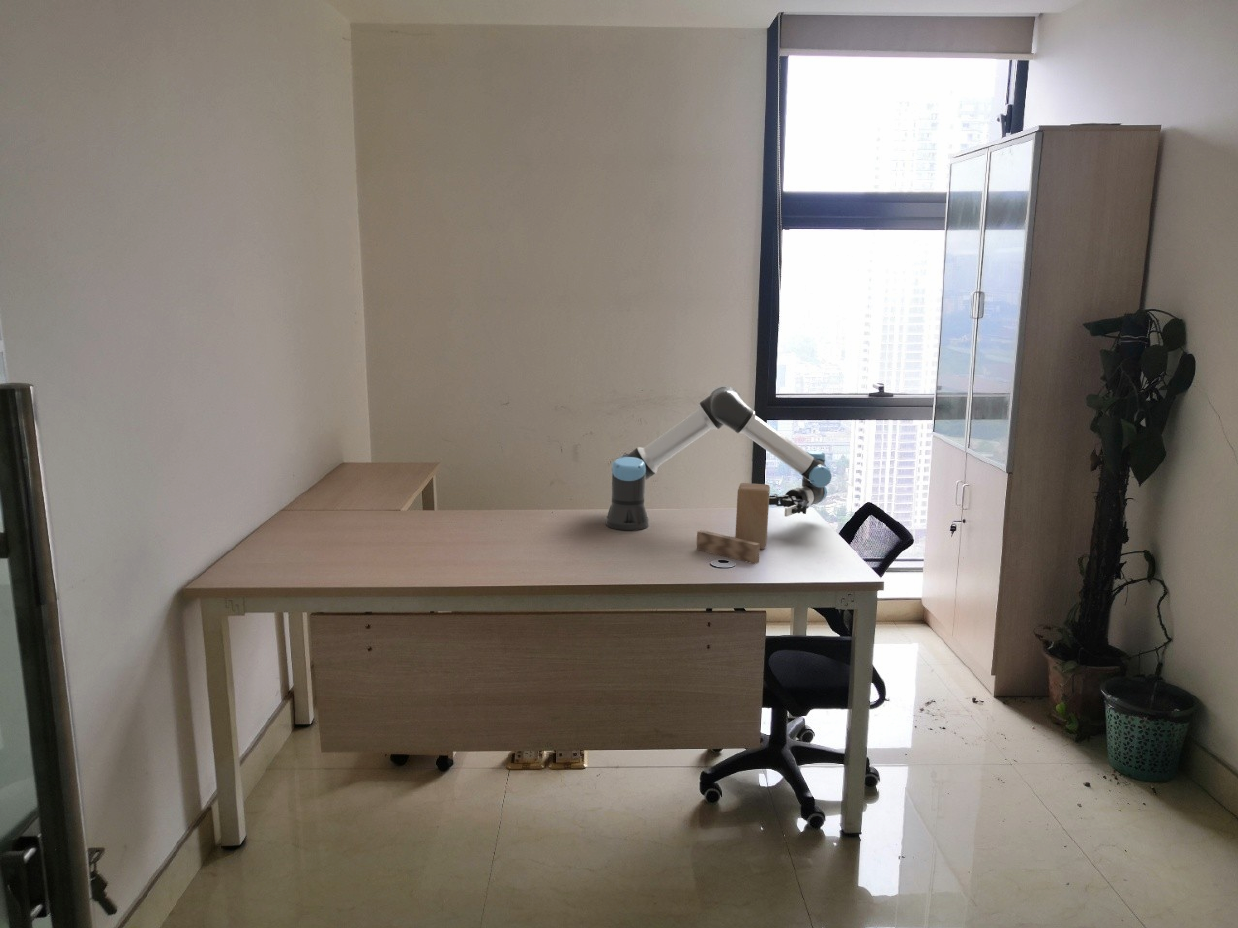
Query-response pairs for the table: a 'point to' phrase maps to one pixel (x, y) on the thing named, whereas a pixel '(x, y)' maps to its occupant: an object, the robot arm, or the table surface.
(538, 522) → the table surface
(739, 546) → the board
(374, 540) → the table surface
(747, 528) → the block
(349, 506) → the table surface
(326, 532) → the table surface
